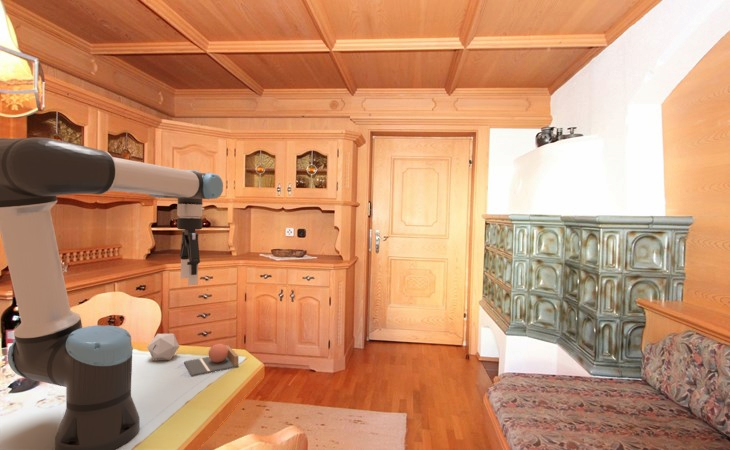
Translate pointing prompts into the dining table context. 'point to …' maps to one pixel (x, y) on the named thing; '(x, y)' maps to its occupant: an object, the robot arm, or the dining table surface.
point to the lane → (211, 364)
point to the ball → (218, 353)
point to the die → (163, 346)
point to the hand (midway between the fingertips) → (188, 281)
